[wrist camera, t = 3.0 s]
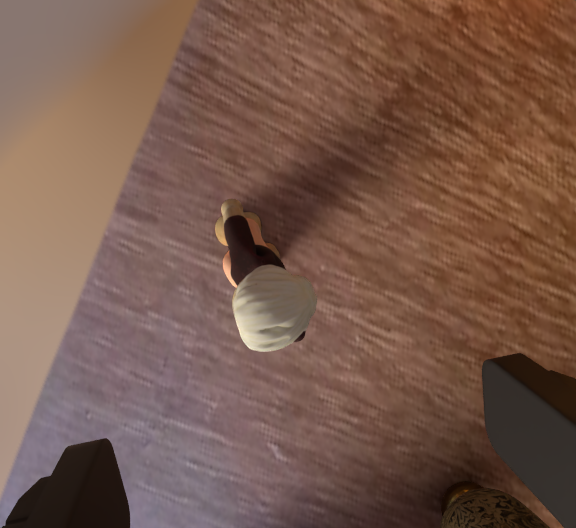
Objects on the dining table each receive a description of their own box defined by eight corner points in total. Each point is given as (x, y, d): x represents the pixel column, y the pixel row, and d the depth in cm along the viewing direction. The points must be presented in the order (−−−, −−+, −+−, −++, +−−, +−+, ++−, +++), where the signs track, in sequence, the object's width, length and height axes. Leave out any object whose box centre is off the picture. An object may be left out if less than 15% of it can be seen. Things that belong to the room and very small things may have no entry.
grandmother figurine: (185, 222, 28) (157, 276, 16) (236, 182, 28) (247, 204, 16) (265, 317, 30) (295, 430, 18) (313, 280, 30) (376, 367, 18)
